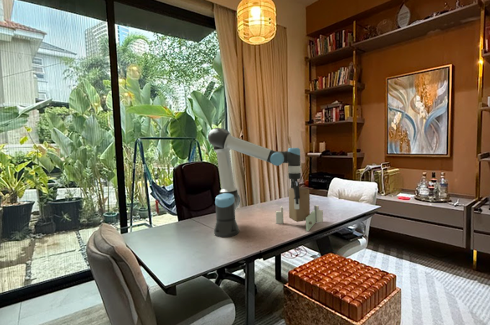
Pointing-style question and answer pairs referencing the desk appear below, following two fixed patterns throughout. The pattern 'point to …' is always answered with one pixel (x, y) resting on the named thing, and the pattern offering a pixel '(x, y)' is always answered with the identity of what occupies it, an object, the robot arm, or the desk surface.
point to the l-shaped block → (317, 215)
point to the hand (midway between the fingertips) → (295, 206)
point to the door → (310, 220)
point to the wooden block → (303, 204)
